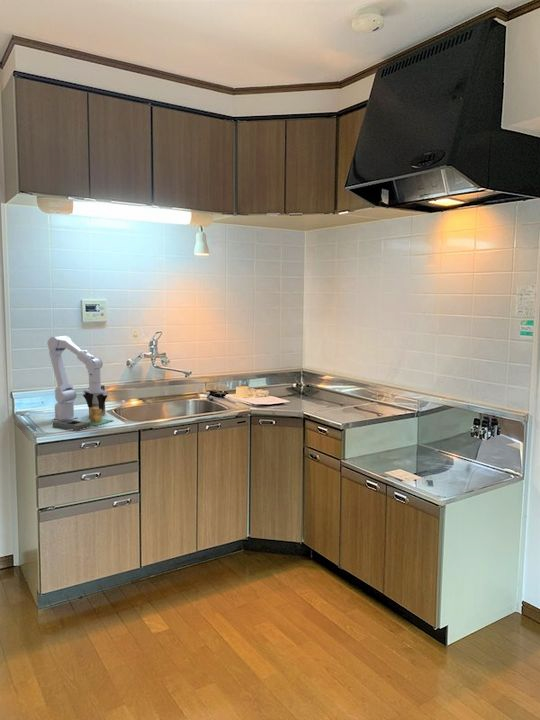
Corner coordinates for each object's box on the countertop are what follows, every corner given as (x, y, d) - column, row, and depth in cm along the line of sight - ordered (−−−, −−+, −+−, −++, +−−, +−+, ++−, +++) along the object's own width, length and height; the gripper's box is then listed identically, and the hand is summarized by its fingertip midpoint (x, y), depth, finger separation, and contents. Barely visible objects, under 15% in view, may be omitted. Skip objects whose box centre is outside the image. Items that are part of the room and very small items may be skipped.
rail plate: (52, 426, 274) (52, 421, 274) (65, 423, 281) (65, 418, 281) (77, 431, 266) (77, 425, 266) (89, 427, 273) (89, 422, 273)
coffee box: (100, 417, 294) (99, 388, 292) (88, 417, 294) (87, 387, 292) (106, 413, 303) (104, 385, 301) (94, 413, 303) (93, 385, 301)
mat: (79, 423, 281) (78, 422, 281) (96, 418, 291) (96, 417, 291) (96, 426, 275) (96, 425, 275) (113, 421, 286) (113, 420, 286)
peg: (90, 421, 282) (89, 408, 281) (95, 420, 286) (95, 407, 285) (96, 422, 280) (95, 409, 279) (101, 421, 284) (101, 407, 283)
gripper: (78, 381, 280) (79, 407, 282) (99, 384, 274) (100, 410, 275) (88, 379, 287) (89, 405, 288) (109, 382, 280) (110, 408, 282)
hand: (95, 407), depth 282 cm, fingers open, 7 cm apart
